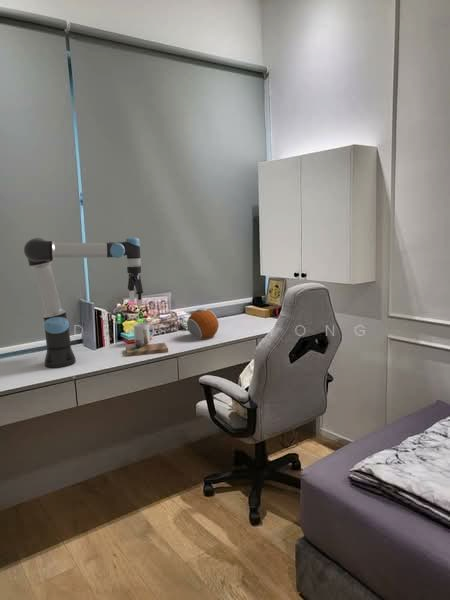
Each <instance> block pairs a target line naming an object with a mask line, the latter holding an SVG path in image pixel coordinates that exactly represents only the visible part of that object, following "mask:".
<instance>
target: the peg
mask: <svg viewBox="0 0 450 600" xmlns="http://www.w3.org/2000/svg"><path fill="white" fill-rule="evenodd" d="M143 335H144V344H142V340H136V343H135V346H136V347H135V348H132V349H131V350H133V349H136V348H142V347H143V346H145V345H148V344H149V343H148V336H147V329H143Z"/></svg>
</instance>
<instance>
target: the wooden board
mask: <svg viewBox="0 0 450 600" xmlns="http://www.w3.org/2000/svg"><path fill="white" fill-rule="evenodd" d="M135 347H136V345H130V346H125V352H126V356H127V357H132V356H142V355H151V354H152V355H153V354H161V353H168V352H169V347H168V346H167V344H166V342H161V343H160V342H159V343H157V342H156V343H148V345H145V346H143V347H142V348H136V349H133V350H131V349H132V348H135Z"/></svg>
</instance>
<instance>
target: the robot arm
mask: <svg viewBox="0 0 450 600" xmlns="http://www.w3.org/2000/svg"><path fill="white" fill-rule="evenodd" d="M23 252H24V256H25V257H26V258H27V262H28V266H29V267H30V268H31V269H33V272H34V275H35V279H36V283H37V286H38V291H39V295H40V298H41V301H42V305H43V309H44V314H43V316H42V318H43V321H44V326H43V327H44V328H43V329H44V332H45V342H46V343H45V344H46V345H45V346H46V354H45V358H44V366H45V367H46V368H52V369H55V368H56V369H59V368H65V367H69V366H72V365H74V364H76V361H77V360H76V359H77V358H76V355H75V353H74V351H73V350H72V346H71V337H70V335H71V334H70V321H69V319H68V317H67V311H66V310H64V309H63V308H62V305H61V300H60V297H59V294H58V293H59V292H58V288H57V286H56V281H55V278H54V274H53V269H52V266H51V265H52V263H53V261H55V259H79V258H80V259H87V258H91V259H93V258H95V259H97V258H100V259H101V258H115V259H120V258H122V257H123V256H125V257H126V266H127V268H126V270H127V271H126V272H127V274H128V282H127V290H128V294H129V297H128V298H129V303H135V302H136V306H137V307H138V306H139V307H140V306H143V293H144V288H143V285H142V284H143V283H142V280H141V275H139V274H141V273H142V266H141V264H142V259H141V244H140V239H139V237H126V238H125V241H107V242H55V241H53V240H45V239H43V238H39V237H34V238H31V239H29V240H28V241H26V243H25V244H24V247H23ZM135 291H136V293H135ZM135 295H136V300H135Z"/></svg>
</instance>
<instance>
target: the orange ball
mask: <svg viewBox="0 0 450 600" xmlns="http://www.w3.org/2000/svg"><path fill="white" fill-rule="evenodd" d="M219 326H220V325H219V320H218V318H217V316H216V314H215V313H214V312H213V311H212V310H209V309H207V308H205V307H203V308H201V307H200V308H197V310H195V311H193V312H192V313H191V314H190V316H189V317H188V319H187V321H186V327H187V329H188V333H190V335H191V336H192V337H193V338H195V339H199V340H208V339H211V338H213V337H214V336H215V335H216V334H217V332H218V329H219Z"/></svg>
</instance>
